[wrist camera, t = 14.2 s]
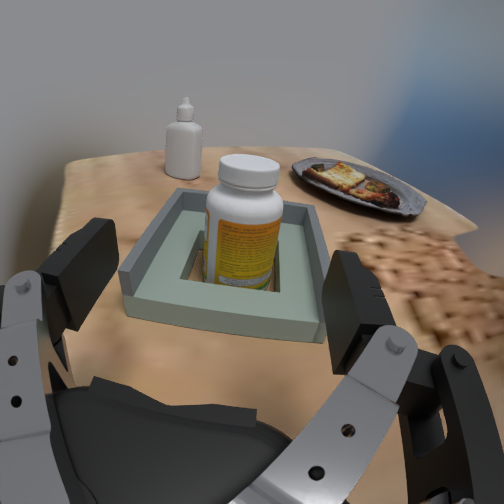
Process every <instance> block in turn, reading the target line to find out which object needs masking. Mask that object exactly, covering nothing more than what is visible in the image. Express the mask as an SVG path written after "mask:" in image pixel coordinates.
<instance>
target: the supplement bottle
mask: <svg viewBox="0 0 504 504" xmlns="http://www.w3.org/2000/svg"><path fill="white" fill-rule="evenodd" d="M279 171H280V165H279V164H278V163H277V162H275V161H273V160H271V159H268V158H264V157H260V156H255V155H247V154H232V155H226V156H223V157H222V158H221V159H220V163H219V171H218V176H219V181H220V182H221V184H219V185H217V186H215V187H213V188H212V189H211V190H210V192H209V193H208V196H207V200H206V212H205V232H204V254H203V278H204V281H205V283H210V284H217V285H225V286H232V287H239V288H247V289H255V290H263V291H265V289H266V288H267V287H268V285H269V281H270V277H271V272H272V267H273V262H274V256H275V251H276V246H277V241H278V235H279V230H280V225H281V220H282V214H283V201H282V199H281V197H280V195H279V194H278V193H277V192H276V191H274V190H273V189H274V188H275V187H276V186H277V183H278V179H279Z"/></svg>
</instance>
